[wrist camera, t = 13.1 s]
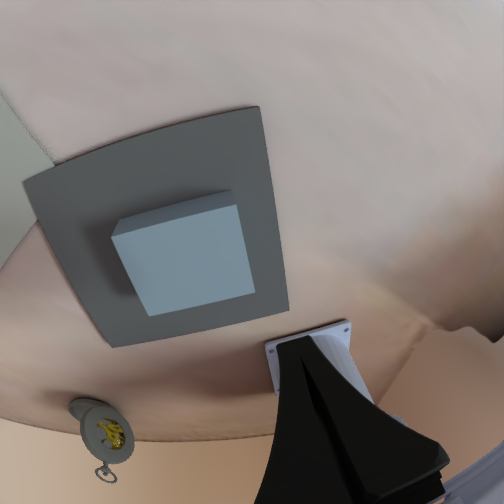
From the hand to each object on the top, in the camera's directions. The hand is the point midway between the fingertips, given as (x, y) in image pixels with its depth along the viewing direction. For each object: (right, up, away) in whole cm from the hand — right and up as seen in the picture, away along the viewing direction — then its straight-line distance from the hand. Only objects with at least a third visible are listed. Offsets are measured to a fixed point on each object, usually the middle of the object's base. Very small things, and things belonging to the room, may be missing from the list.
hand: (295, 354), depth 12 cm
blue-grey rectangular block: (-9, +3, +6) cm, 11 cm away
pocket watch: (-19, -14, +17) cm, 29 cm away
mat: (-7, +4, +8) cm, 11 cm away
